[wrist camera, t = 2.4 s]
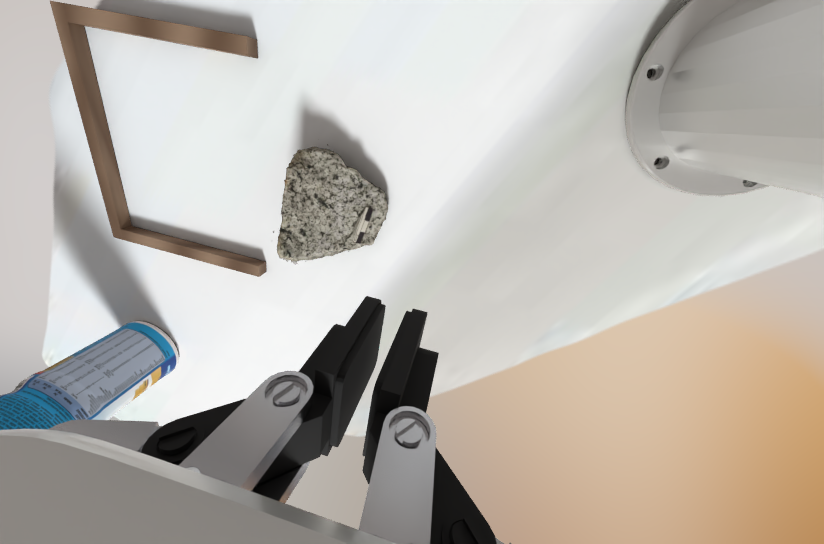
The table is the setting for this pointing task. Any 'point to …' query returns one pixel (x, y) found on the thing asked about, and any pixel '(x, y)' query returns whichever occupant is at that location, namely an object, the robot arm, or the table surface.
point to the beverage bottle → (92, 380)
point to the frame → (96, 126)
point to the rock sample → (327, 207)
